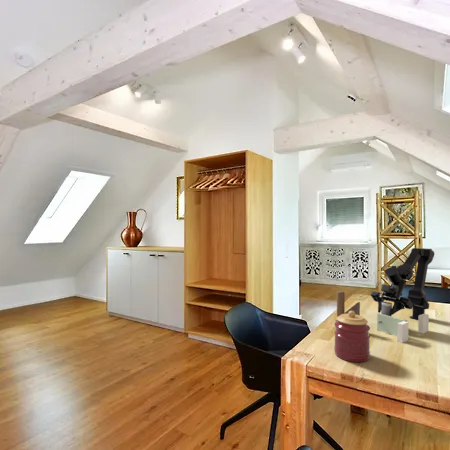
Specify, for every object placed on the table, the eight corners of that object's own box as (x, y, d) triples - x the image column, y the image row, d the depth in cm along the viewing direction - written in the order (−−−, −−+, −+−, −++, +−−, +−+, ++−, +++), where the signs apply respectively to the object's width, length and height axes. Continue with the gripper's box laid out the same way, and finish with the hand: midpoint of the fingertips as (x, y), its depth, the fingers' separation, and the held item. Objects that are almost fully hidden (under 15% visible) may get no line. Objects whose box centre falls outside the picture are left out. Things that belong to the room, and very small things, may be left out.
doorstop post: (381, 327, 153) (382, 301, 153) (391, 328, 150) (392, 302, 150) (380, 329, 149) (381, 303, 149) (390, 331, 147) (391, 304, 147)
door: (407, 338, 138) (408, 320, 138) (404, 339, 136) (404, 321, 136) (379, 329, 149) (379, 313, 149) (375, 330, 148) (375, 314, 148)
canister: (352, 365, 111) (352, 317, 111) (327, 352, 123) (327, 308, 123) (377, 359, 116) (377, 313, 116) (351, 346, 128) (351, 305, 128)
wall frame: (423, 329, 149) (424, 313, 149) (428, 331, 147) (428, 314, 147) (397, 341, 134) (397, 323, 134) (402, 342, 133) (402, 324, 133)
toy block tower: (357, 332, 145) (357, 295, 145) (335, 327, 152) (335, 291, 152) (359, 330, 148) (360, 293, 148) (338, 325, 155) (338, 290, 155)
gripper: (372, 275, 160) (359, 299, 154) (409, 281, 144) (397, 308, 138) (380, 289, 164) (368, 312, 158) (418, 295, 148) (406, 322, 142)
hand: (384, 313), depth 149 cm, fingers open, 5 cm apart
